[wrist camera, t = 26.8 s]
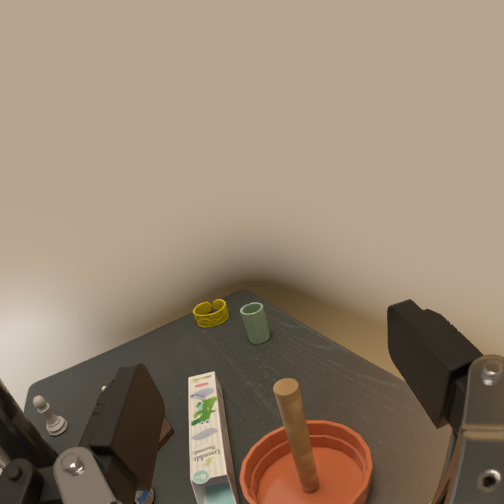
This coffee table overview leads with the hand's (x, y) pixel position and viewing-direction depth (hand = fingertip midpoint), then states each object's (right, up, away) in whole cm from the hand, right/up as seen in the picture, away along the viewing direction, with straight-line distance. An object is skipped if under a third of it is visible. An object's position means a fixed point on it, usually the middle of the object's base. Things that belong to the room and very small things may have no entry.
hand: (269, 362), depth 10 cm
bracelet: (-10, -13, +66) cm, 68 cm away
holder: (+1, -14, +54) cm, 56 cm away
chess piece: (-37, -30, +36) cm, 59 cm away
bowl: (+6, -24, +20) cm, 32 cm away
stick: (+6, -24, +19) cm, 31 cm away
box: (-5, -25, +28) cm, 37 cm away
